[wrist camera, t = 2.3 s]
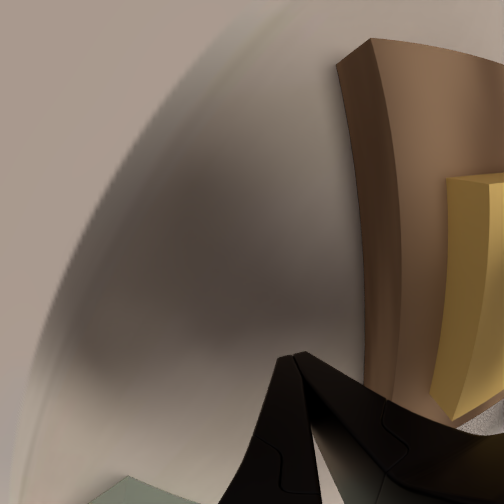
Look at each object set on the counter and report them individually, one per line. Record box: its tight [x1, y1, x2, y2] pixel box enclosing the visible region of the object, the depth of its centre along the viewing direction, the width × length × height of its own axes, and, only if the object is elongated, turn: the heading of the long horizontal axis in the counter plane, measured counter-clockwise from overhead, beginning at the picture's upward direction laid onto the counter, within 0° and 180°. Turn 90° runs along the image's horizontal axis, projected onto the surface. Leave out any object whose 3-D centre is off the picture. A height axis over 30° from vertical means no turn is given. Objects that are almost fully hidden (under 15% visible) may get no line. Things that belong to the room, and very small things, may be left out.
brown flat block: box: [336, 38, 504, 428], centre depth 11 cm, size 11×18×3 cm, turn 10°
